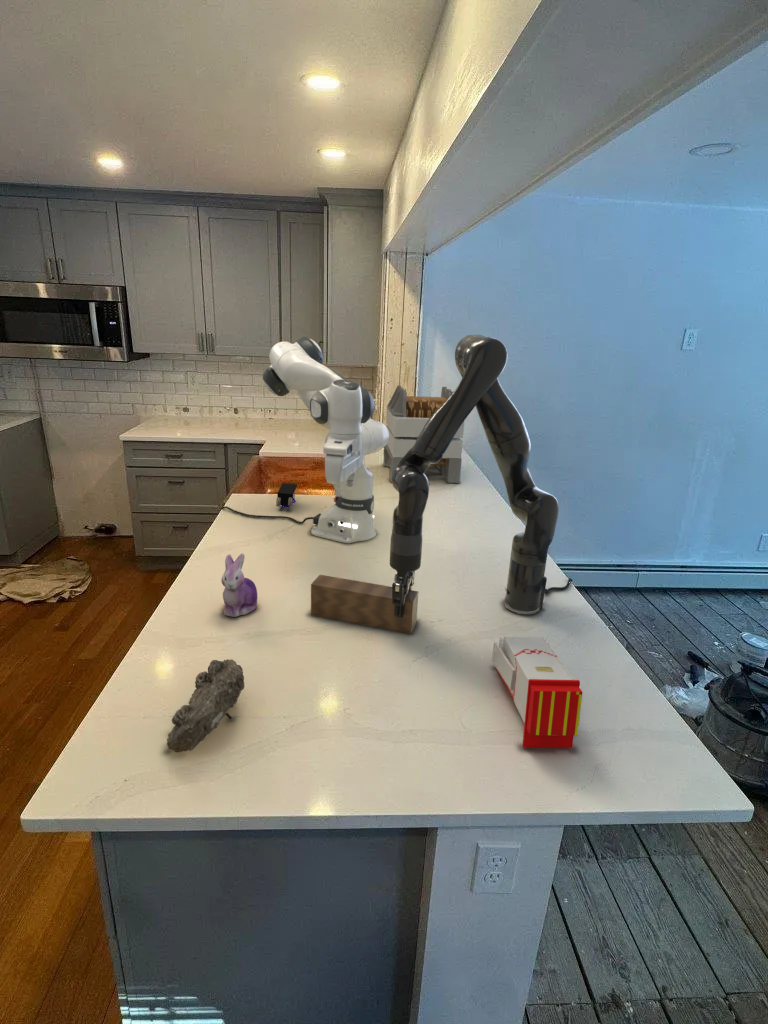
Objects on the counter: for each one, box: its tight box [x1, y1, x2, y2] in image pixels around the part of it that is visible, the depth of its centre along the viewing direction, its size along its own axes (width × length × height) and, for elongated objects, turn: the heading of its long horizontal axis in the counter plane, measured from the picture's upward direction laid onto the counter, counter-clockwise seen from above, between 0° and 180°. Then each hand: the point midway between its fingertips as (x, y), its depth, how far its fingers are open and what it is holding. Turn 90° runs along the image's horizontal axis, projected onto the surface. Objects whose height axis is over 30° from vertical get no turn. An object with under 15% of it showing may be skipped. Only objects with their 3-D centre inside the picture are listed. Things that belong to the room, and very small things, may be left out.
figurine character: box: [275, 482, 298, 511], centre depth 221 cm, size 7×8×15 cm
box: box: [310, 574, 419, 635], centre depth 143 cm, size 26×6×9 cm, turn 74°
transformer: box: [383, 384, 465, 484], centre depth 268 cm, size 34×33×41 cm
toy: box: [491, 636, 583, 749], centre depth 115 cm, size 12×13×30 cm
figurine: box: [220, 553, 258, 618], centre depth 144 cm, size 9×10×15 cm
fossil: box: [166, 658, 245, 754], centre depth 106 cm, size 22×10×15 cm
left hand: (344, 490), depth 158 cm, fingers open, 8 cm apart
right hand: (402, 609), depth 141 cm, fingers closed on box, 6 cm apart
